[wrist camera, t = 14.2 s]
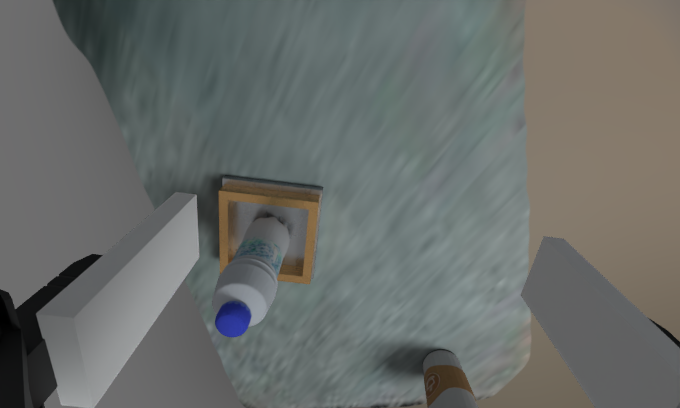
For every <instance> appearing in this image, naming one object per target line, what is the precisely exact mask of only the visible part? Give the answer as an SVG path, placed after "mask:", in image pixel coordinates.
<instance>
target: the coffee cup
mask: <svg viewBox="0 0 680 408" xmlns="http://www.w3.org/2000/svg"><path fill="white" fill-rule="evenodd" d="M423 372H424V383H425V391H426V398H427V405H428V408H478V405H477V403H476V399H475V397H474V394H473V392H472V390H471V387H470V385H469V383H468V380H467V378H466V376H465V373H464V372H463V370H462V367H461V365H460V362H459V360H458V358H457V357H456V356H455V355H454V354H453V353H451V352H449V351H446V350H437V351H434V352H432V353H430V354H428V355H427V356H426V358H425V360H424V362H423Z"/></svg>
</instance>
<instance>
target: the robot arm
mask: <svg viewBox="0 0 680 408" xmlns="http://www.w3.org/2000/svg"><path fill="white" fill-rule="evenodd" d="M198 259H199V240H198V217H197V194H189V193H180V192H175V193H174V194H173V195H172V196H171V197H169V198H168V199H167V200H166V201H165V202H164V203H163V204H161V205H160V206H159V207H158V208H157V209H156V210H154V211H153V212H152V213H151V214H150V215H149V216H148V217H146V218H145V219H144V220H143V221H142V222H141V223H140V224H138V225H137V226H136V227H135V228H134V229H133V230H131V231H130V232H129V233H128V234H127V235H126V236H125V237H124V238H122V239H121V240H120V241H119V242H118V243H116V245H114V246H113V247H112V248H111V249H110V250H108V251H107V252H106V253H105V254H104V255H96V254H91V255H89V256H87V257H85V258H83V259H81V260H79V261H76V262H74V263H73V264H71V265H70V266H69V267H68V268H66V269H65V270H64V271H63V272H61V273H60V274H59V277H55V278H54V279H53V280H51V281H50V282H49V283H48V284H47V286H44V287H43V288H41V289H40V290H39V291H38V292H36V293H35V294H34V295H33V296H32V297H30V298H29V299H28V300H27V301H25V302H24V303H23V304H22V305H20V306H19V307H18V308H17V309H15V308H14V304H13V301H12V298H11V296H10V295H9V293H8V292H6V291H3V290H0V408H45V406H44V402H45V401H46V399H47V398H48V397H49V396H50V395H51V393H52V392H53V391H54V390H55V389H56V388H57V392H58V396H59V399H60V403H61V405H65V406H75V407H84V408H94V407H95V406H96V405H97V403H98V402H99V400H100V399H101V397H102V396H103V395H104V393H105V392H106V390H107V389H108V387H109V386H110V385H111V383H112V382H113V380H114V379H115V377H116V376H117V375H118V373H119V372H120V370H121V369H122V367H123V366H124V365H125V363H126V362H127V360H128V359H129V357H130V356H131V354H132V353H133V352H134V350H135V349H136V347H137V346H138V344H139V343H140V342H141V340H142V339H143V337H144V336H145V334H146V333H147V332H148V330H149V328H150V327H151V326H152V324H153V323H154V321H155V320H156V319H157V317H158V316H159V314H160V313H161V311H162V310H163V309H164V307H165V306H166V304H167V303H168V301H169V300H170V299H171V297H172V296H173V294H174V293H175V291H176V290H177V288H178V287H179V286H180V284H181V283H182V281H183V280H184V279H185V277H186V276H187V274H188V273H189V271H190V270H191V269H192V267H193V266H194V264H195V263H196V261H197V260H198ZM521 296H522V298H523V299H524V301H525V302H526V304H527V305H528V307H529V308H530V310H531V311H532V313H533V314H534V316H535V317H536V319H537V320H538V322H539V323H540V325H541V327H542V328H543V330H544V331H545V332H546V334H547V335H548V337H549V339H550V340H551V341H552V343H553V345H554V346H555V348H556V349H557V351H558V352H559V354H560V355H561V357H562V358H563V360H564V361H565V363H566V364H567V366H568V367H569V369H570V370H571V372H572V373H573V375H574V376H575V378H576V379H577V381H578V382H579V384H580V386H581V387H582V389H583V390H584V392H585V393H586V394H587V396H588V398H589V399H590V401H591V402H592V404H593V405H594V407H595V408H680V342H679V341H678V340H677V339H676V338H675V337H674V336H673V335H672V334H671V333H670V332H668V331H667V330H666V329H664V328H663V327H661V326H660V325H658V324H657V323H655V322H654V321H652V320H651V319H649V318H647V317H646V316H645V315H644V314H643V313H642V312H640V310H639V309H638V308H637V307H635V305H633V304H632V303H631V302H630V301H629V300H628V299H627V298H626V297H625V296H624V295H623V294H622V293H621V292H620V291H619V290H617V288H615V287H614V286H613V285H612V284H611V283H610V282H609V281H608V280H607V279H606V278H605V277H603V275H601V274H600V272H598V271H597V270H596V269H595V268H594V267H593V266H592V265H591V264H590V263H589V262H588V261H587V260H586V259H585V258H583V256H581V255H580V254H579V253H578V252H577V251H576V250H575V249H574V248H573V247H572V246H571V245H570V244H569V243H568V242H567V241H566V240H564V239H561V238H553V237H544V238H543V240H542V242H541V245H540V247H539V250H538V253H537V255H536V258H535V260H534V263H533V265H532V268H531V270H530V273H529V275H528V278H527V280H526V283H525V285H524V288H523V290H522V293H521Z"/></svg>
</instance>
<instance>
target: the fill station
mask: <svg viewBox="0 0 680 408" xmlns="http://www.w3.org/2000/svg"><path fill="white" fill-rule="evenodd" d="M322 194H323V187H316V186H308V185H299V184H291V183H283V182H275V181H267V180H259V179H250V178H242V177H234V176H226V175H225V176H224V177H223V178H222V187H221V189H220V190H219V240H220V274H221V273H222V272H223V270H224V268H225V267H226V266H227V265H228V264H229V263H230V262H231V261H232V260H233V258H234V256H235V254H236V252H237V250H238V248H239V247H240V245H241V243H242V240H243V237H244V235H245V233H246V231H247V229H248V227H249V226H250V225H251V224H252V223H253V222H254V221H255V220H256V219H258V218H261V217H262V218H270V217H275V218H277V220H278V221H279V222H280V223H282V224H285V225H286V226H287V228H288V233H289V239H290V242H289V246H288V249H287V252H286V254H285V256H284V258H283V261H282V264H281V267H280V271H279V274H278V277H277V280H278V281H286V282H295V283H304V284H310V281H311V279H313V276H314V268H315V259H316V249H317V240H318V231H319V222H320V213H321V203H322Z"/></svg>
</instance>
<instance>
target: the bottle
mask: <svg viewBox="0 0 680 408" xmlns="http://www.w3.org/2000/svg"><path fill="white" fill-rule="evenodd" d="M289 242H290V239H289V233H288V228H287V226H286V225H285V224H282V223H280V222H279V221H278V220H277V218H275V217H270V218H262V217H261V218H258V219H256V220H255V221H254V222H253V223H252V224H251V225H250V226H249V227H248V229H247V231H246V233H245V235H244V237H243V240H242V243H241V245H240V247H239V248H238V250H237V252H236V254H235V256H234V258H233V260H232V261H231V262H230V263H229V264H228V265H227V266H226V267H225V268H224V270H223V272H222V273H221V274H220V276H219V278H218V282H217V285H216V288H215V291H214V295H213V298H212V306H213V309H214V311H215V313H216V315H217V316H216V319H215V325H216V328H217V329H218V331H219V332H220V333H221V334H223V335H225V336H227V337H237V336H240V335H242V334H243V333H244V332H245V331H246V330H247V328H248V327H250V326H253V325H255V324H257V323H259V322H260V321H261V320H262V319H263V318H264V317H265V315H266V313H267V311H268V309H269V307H270V305H271V304H272V302H273V301H274V298H275V295H276V290H277V277H278V274H279V271H280V267H281V264H282V261H283V258H284V256H285V254H286V252H287V249H288V246H289Z"/></svg>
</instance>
